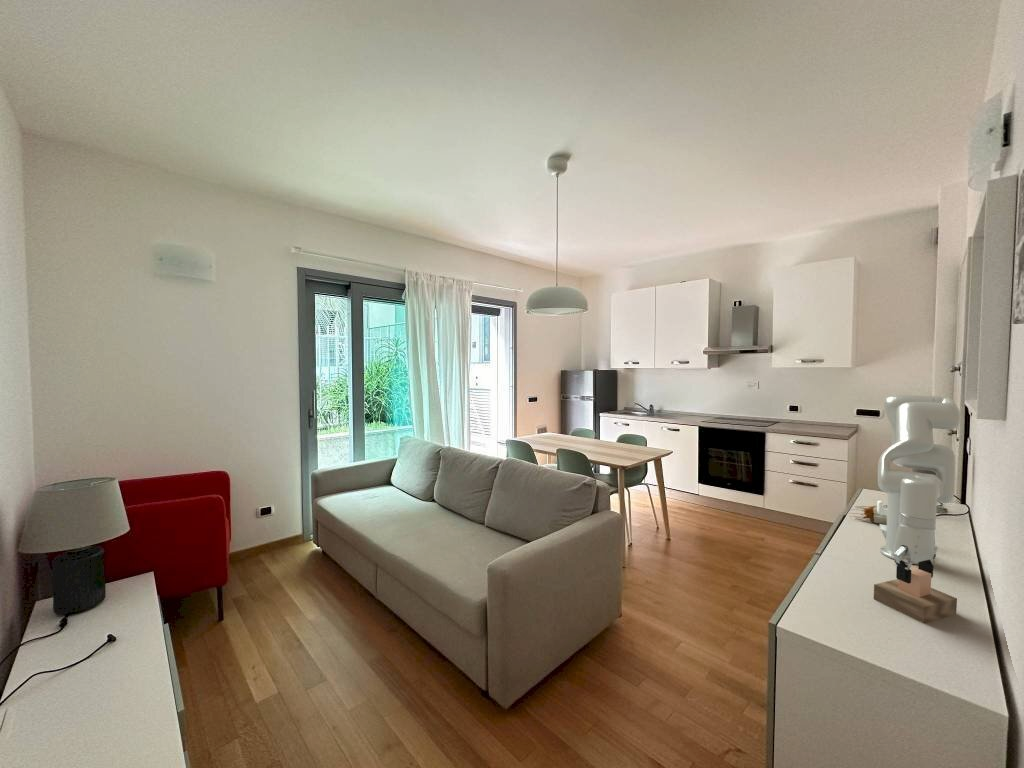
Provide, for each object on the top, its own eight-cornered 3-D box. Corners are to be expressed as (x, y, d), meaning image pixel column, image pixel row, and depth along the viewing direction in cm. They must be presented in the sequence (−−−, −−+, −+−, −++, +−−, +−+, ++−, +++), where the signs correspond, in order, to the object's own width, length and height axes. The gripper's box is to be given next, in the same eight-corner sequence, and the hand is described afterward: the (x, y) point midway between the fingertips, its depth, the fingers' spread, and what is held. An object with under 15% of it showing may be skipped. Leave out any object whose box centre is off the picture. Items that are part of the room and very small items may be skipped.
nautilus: (851, 524, 180) (843, 514, 193) (916, 530, 169) (904, 520, 182) (850, 506, 180) (843, 498, 193) (915, 511, 170) (903, 502, 183)
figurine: (909, 543, 159) (910, 506, 158) (876, 537, 165) (878, 501, 164) (906, 537, 165) (907, 501, 164) (875, 531, 171) (876, 496, 170)
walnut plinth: (904, 592, 126) (905, 577, 126) (956, 615, 115) (957, 598, 115) (873, 600, 122) (874, 584, 122) (923, 624, 111) (924, 607, 111)
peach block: (909, 585, 122) (909, 565, 121) (930, 594, 117) (931, 573, 117) (898, 588, 120) (898, 568, 120) (919, 597, 115) (920, 576, 115)
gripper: (920, 512, 124) (917, 567, 125) (881, 519, 118) (879, 576, 119) (953, 522, 116) (950, 579, 117) (913, 529, 111) (910, 590, 112)
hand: (914, 578), depth 118 cm, fingers open, 9 cm apart
